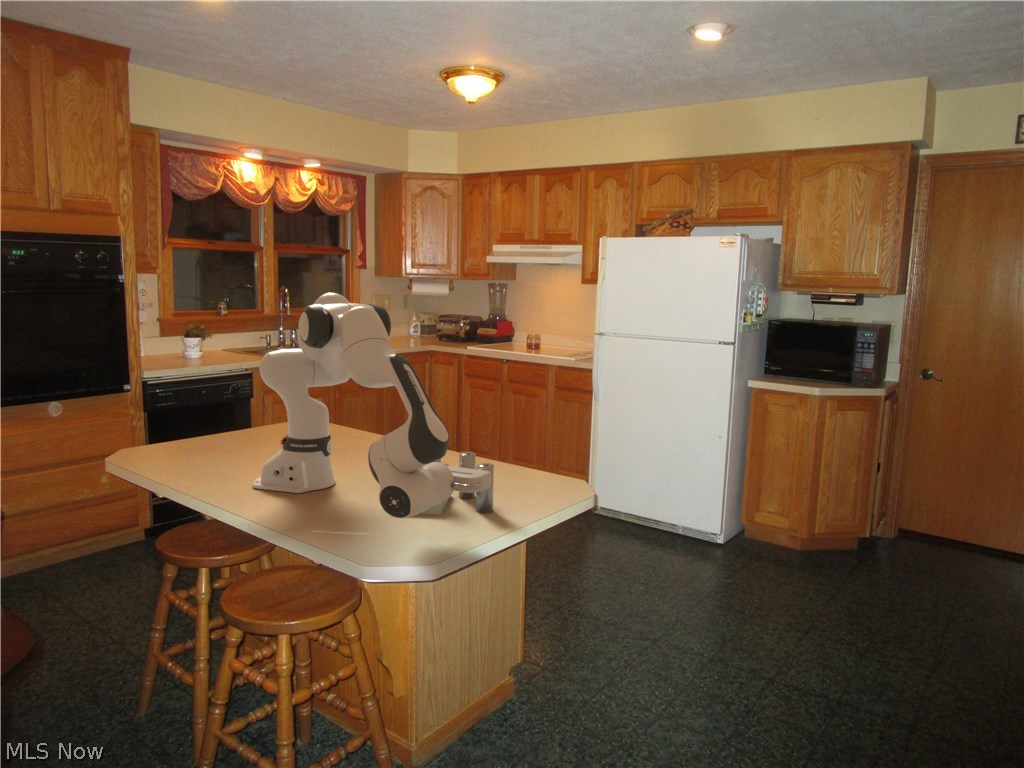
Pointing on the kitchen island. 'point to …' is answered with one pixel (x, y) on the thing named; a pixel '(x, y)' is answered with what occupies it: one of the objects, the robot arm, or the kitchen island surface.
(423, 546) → the kitchen island surface
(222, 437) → the kitchen island surface
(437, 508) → the scale
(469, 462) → the cylinder
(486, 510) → the cylinder
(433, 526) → the kitchen island surface
